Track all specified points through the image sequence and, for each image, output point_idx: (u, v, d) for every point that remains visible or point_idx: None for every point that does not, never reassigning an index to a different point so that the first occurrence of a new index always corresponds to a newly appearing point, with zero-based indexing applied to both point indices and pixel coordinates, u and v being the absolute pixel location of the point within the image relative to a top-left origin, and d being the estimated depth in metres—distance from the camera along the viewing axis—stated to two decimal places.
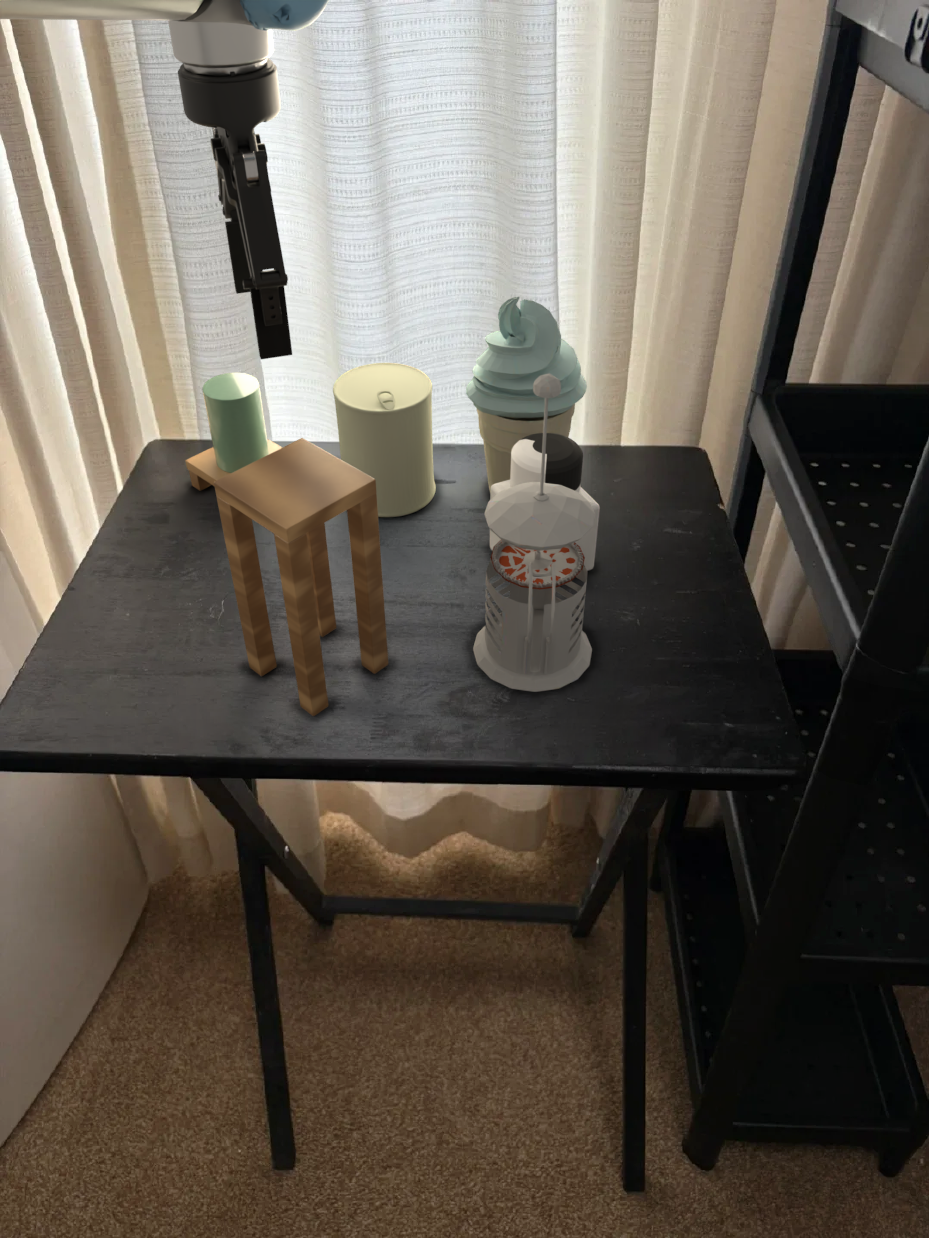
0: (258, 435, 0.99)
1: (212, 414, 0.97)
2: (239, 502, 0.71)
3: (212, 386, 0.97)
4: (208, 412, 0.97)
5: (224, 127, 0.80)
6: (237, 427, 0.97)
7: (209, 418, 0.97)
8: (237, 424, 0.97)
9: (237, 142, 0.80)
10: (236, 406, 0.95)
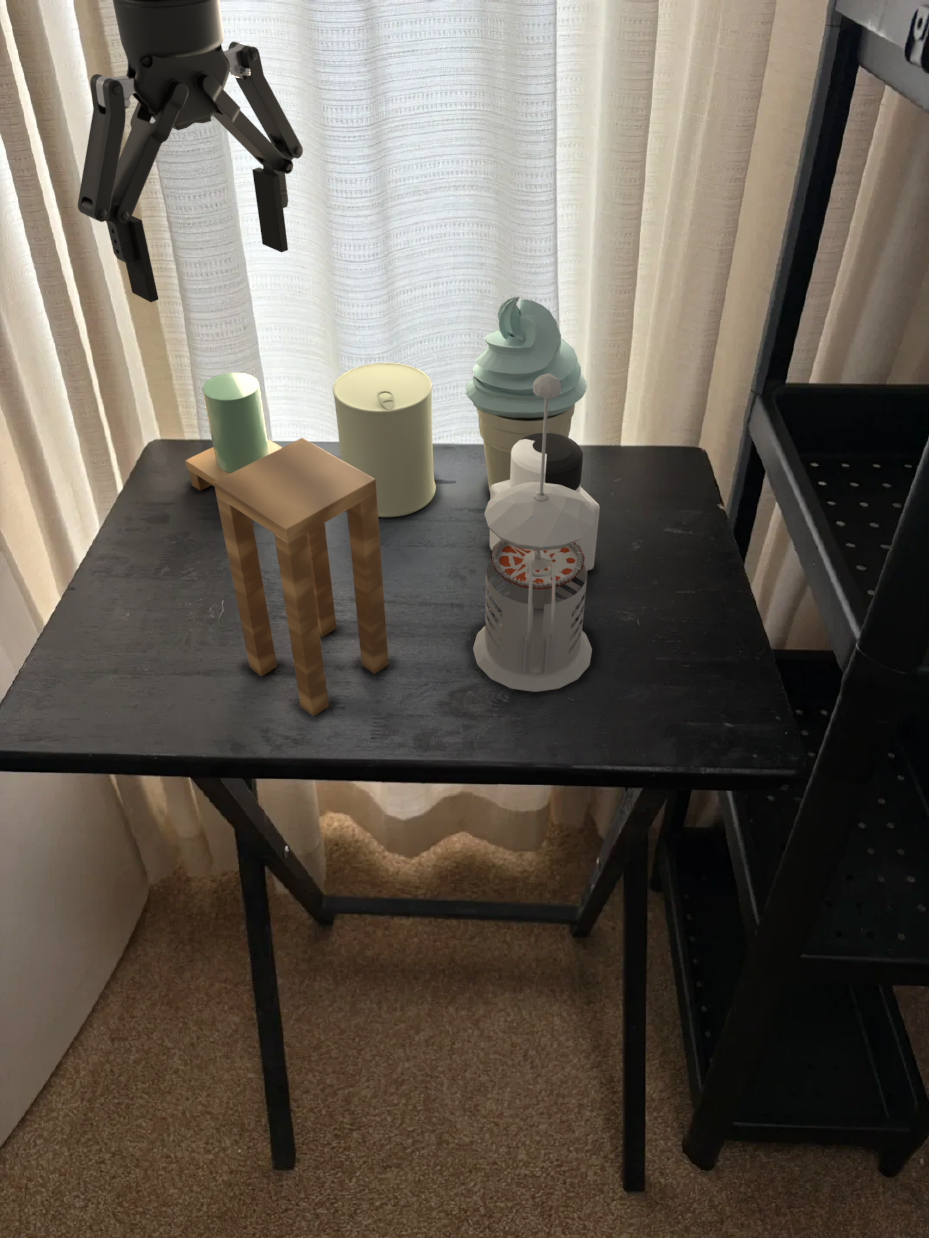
0: (258, 435, 0.99)
1: (212, 414, 0.97)
2: (239, 502, 0.71)
3: (212, 386, 0.97)
4: (208, 412, 0.97)
5: (124, 49, 0.77)
6: (237, 427, 0.97)
7: (209, 418, 0.97)
8: (237, 424, 0.97)
9: (131, 69, 0.77)
10: (236, 406, 0.95)
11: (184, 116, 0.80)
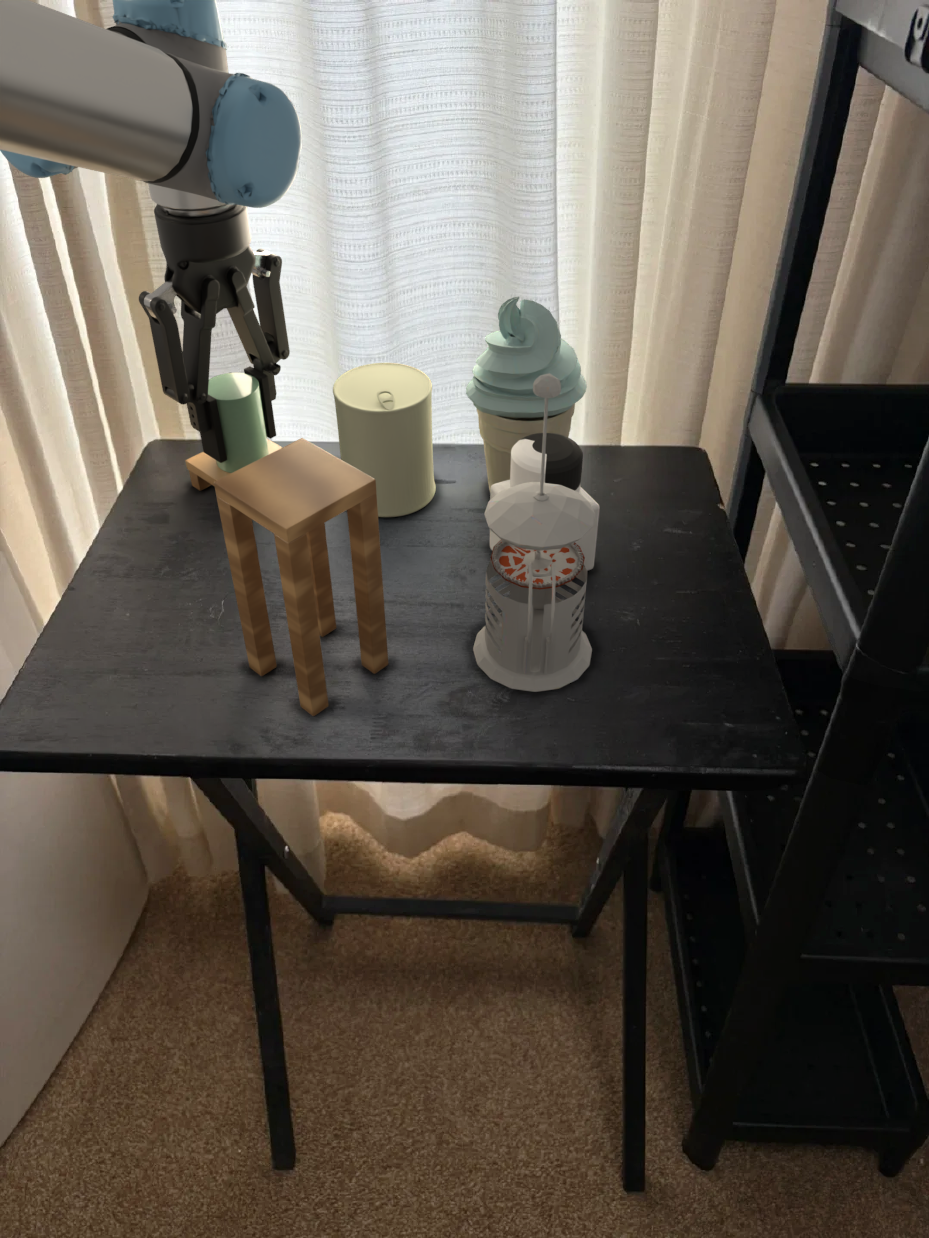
0: (258, 435, 0.99)
1: None
2: (239, 502, 0.71)
3: (212, 386, 0.97)
4: None
5: (163, 252, 0.87)
6: (237, 427, 0.97)
7: None
8: (237, 424, 0.97)
9: (169, 269, 0.87)
10: (236, 406, 0.95)
11: None
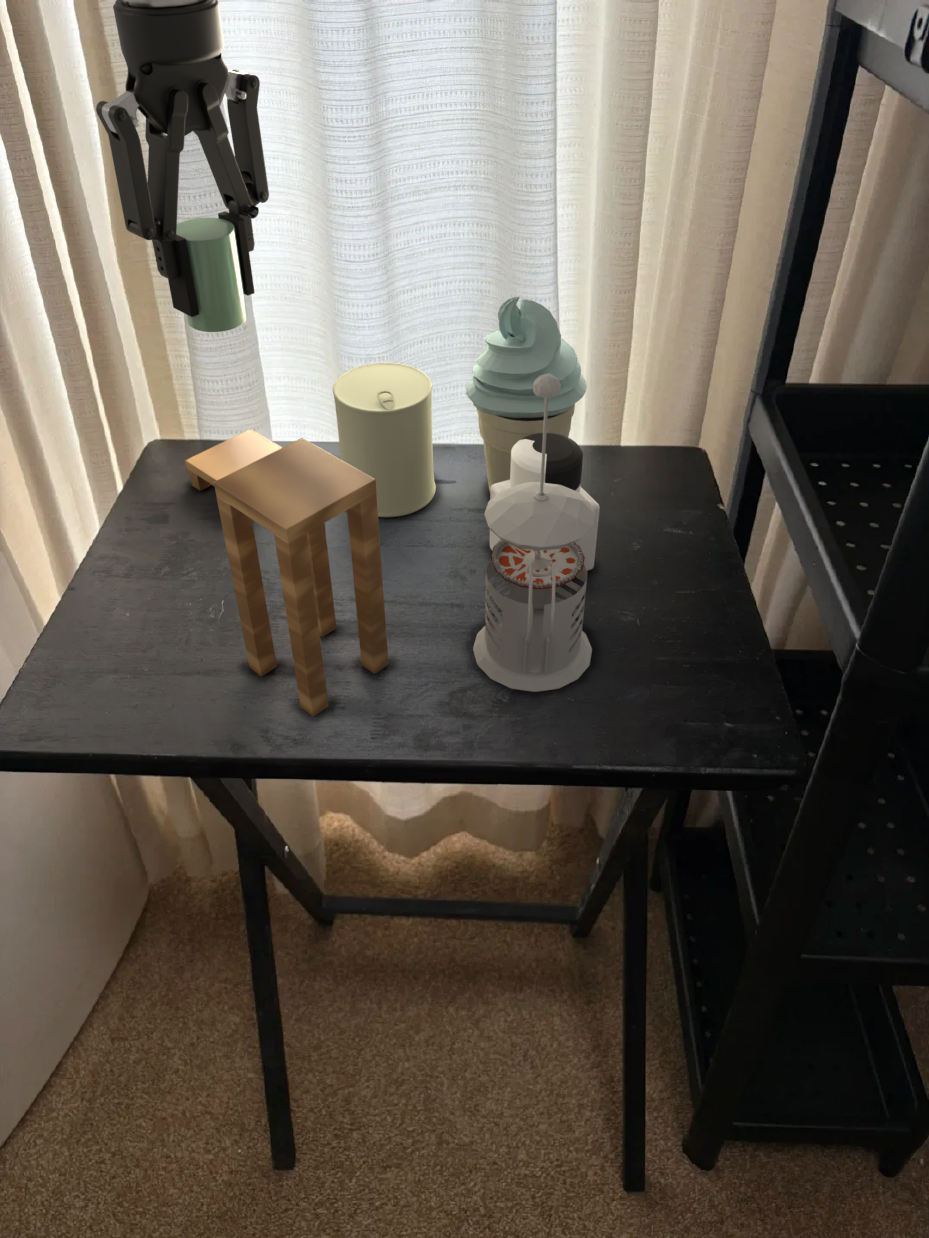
0: (234, 287, 0.89)
1: None
2: (239, 502, 0.71)
3: (182, 229, 0.87)
4: None
5: (124, 57, 0.77)
6: (210, 275, 0.87)
7: None
8: (210, 271, 0.87)
9: (131, 76, 0.77)
10: (208, 248, 0.86)
11: None
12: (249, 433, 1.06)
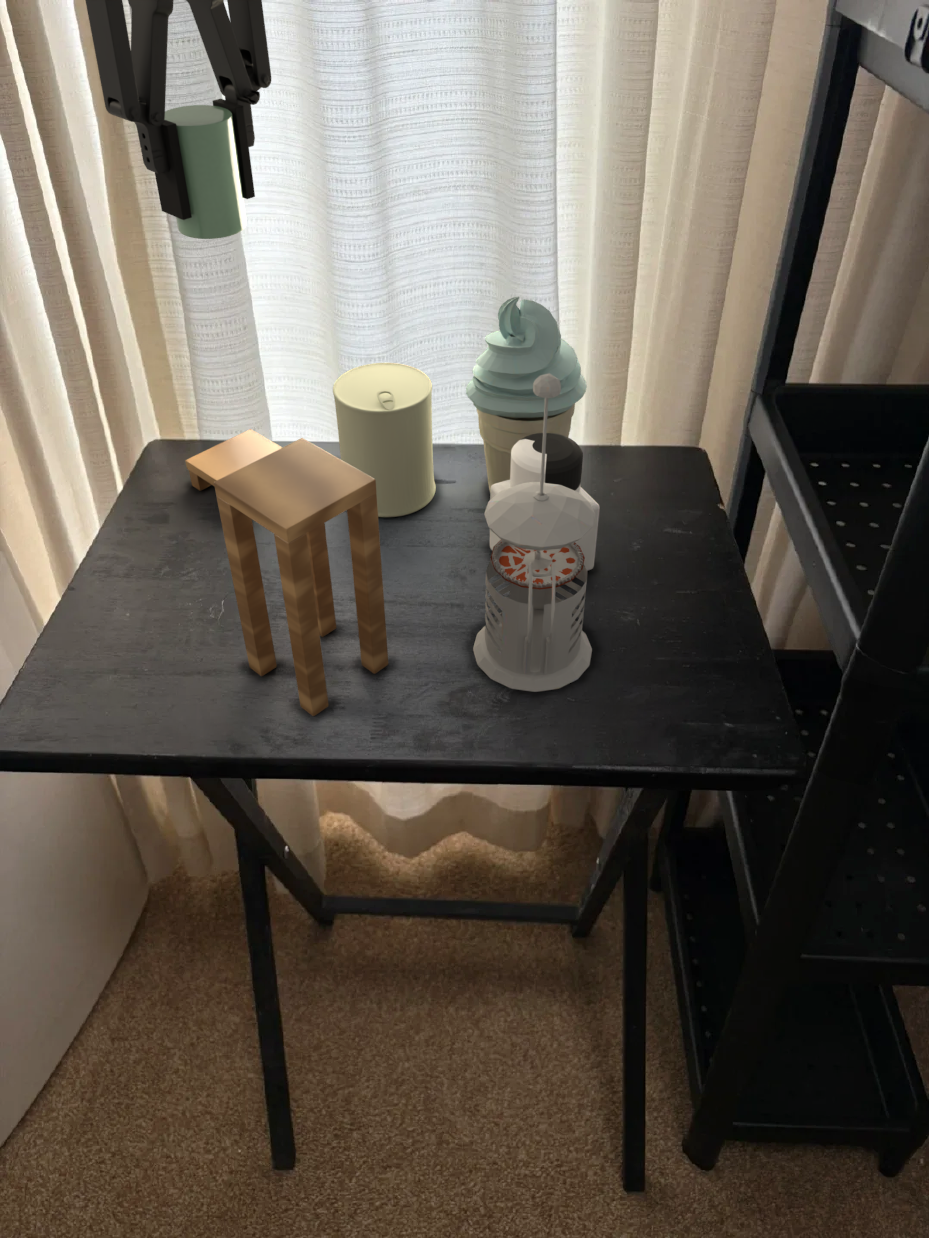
0: (232, 185, 0.77)
1: None
2: (239, 502, 0.71)
3: (172, 115, 0.75)
4: None
5: None
6: (204, 169, 0.75)
7: None
8: (204, 164, 0.75)
9: None
10: (202, 136, 0.74)
11: None
12: (249, 433, 1.06)
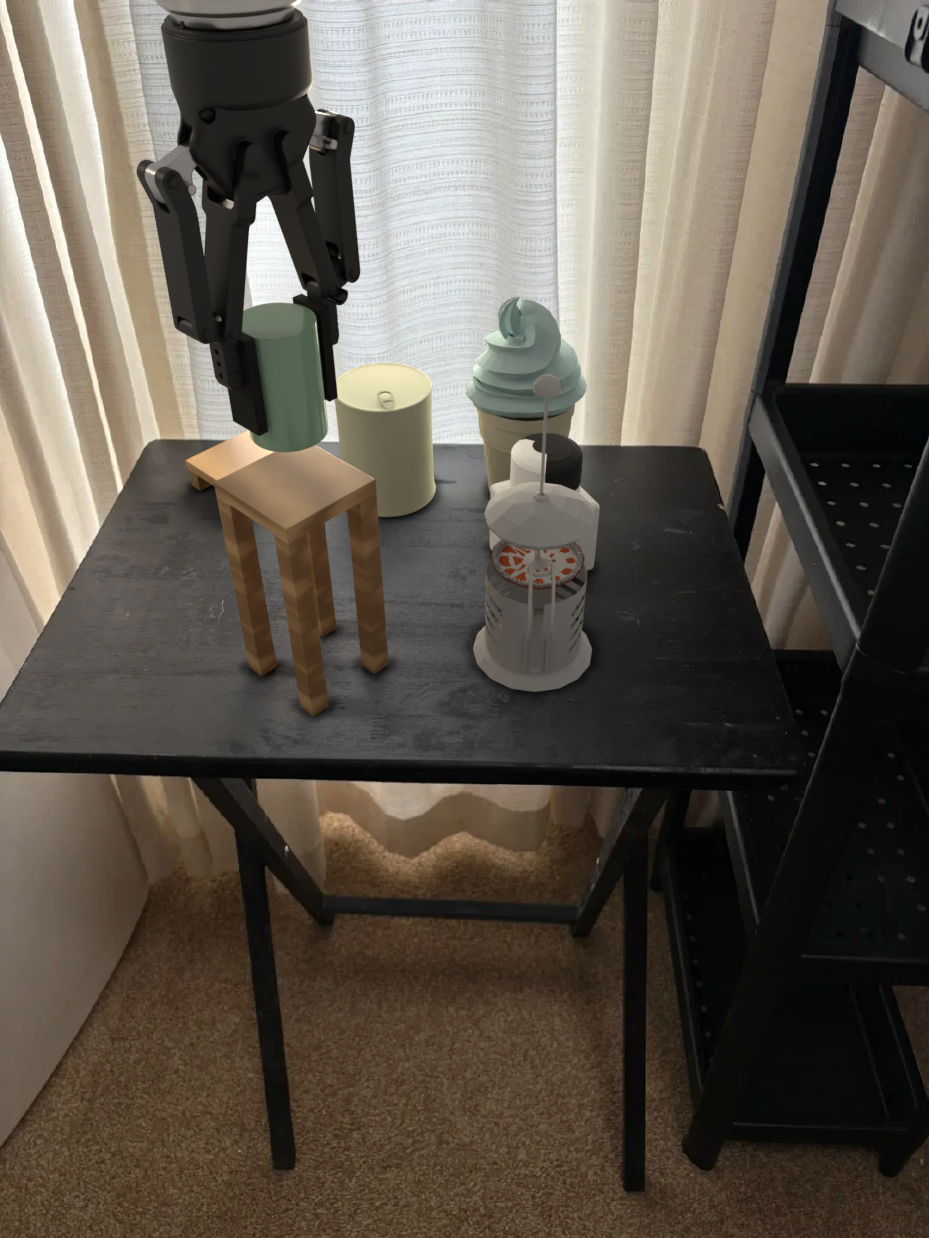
0: (314, 395, 0.67)
1: None
2: (239, 502, 0.71)
3: (247, 320, 0.65)
4: None
5: (175, 98, 0.55)
6: (284, 382, 0.65)
7: None
8: (285, 377, 0.65)
9: (185, 125, 0.55)
10: (284, 349, 0.64)
11: None
12: (249, 433, 1.06)
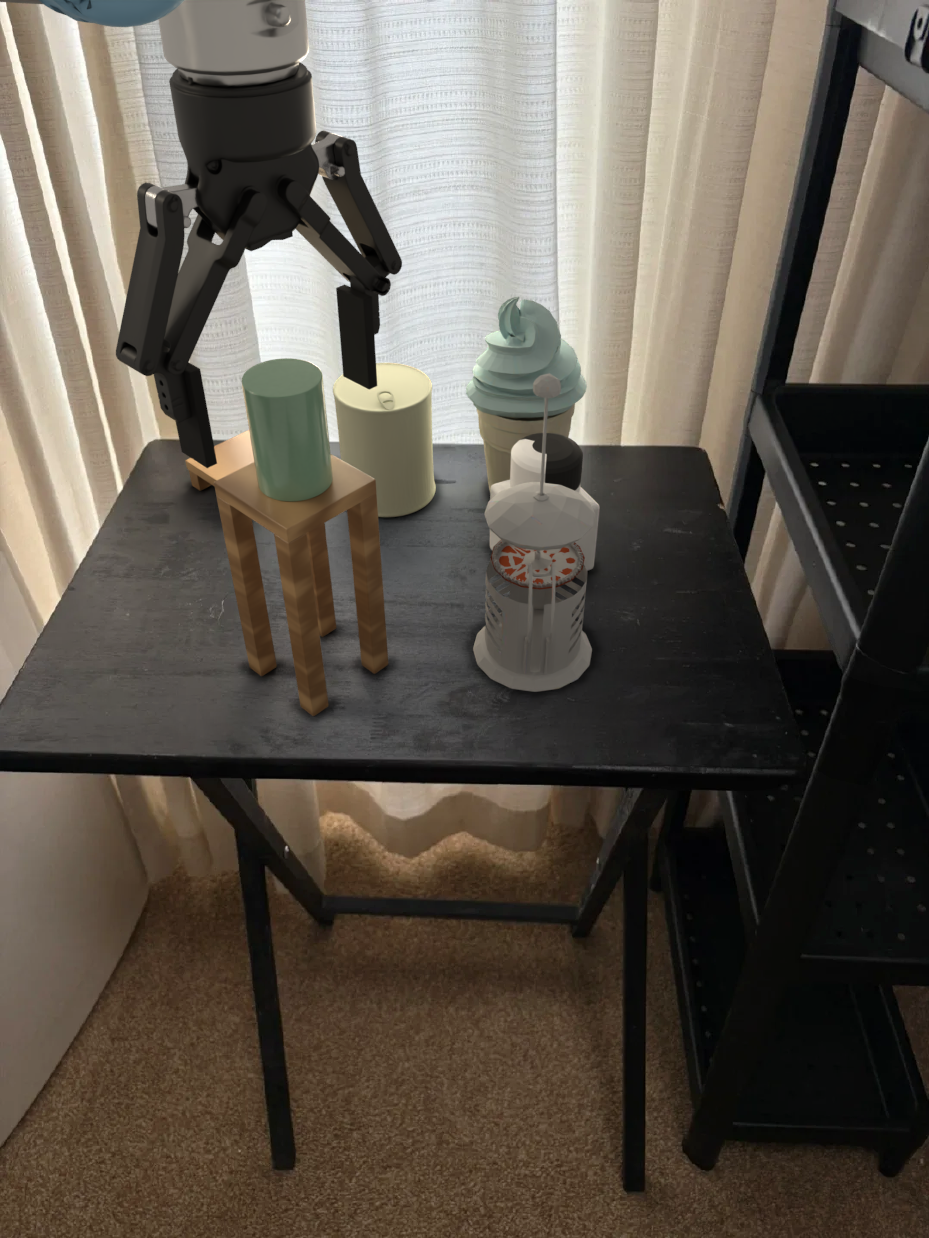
0: (320, 447, 0.69)
1: (256, 418, 0.67)
2: (239, 502, 0.71)
3: (256, 377, 0.67)
4: (249, 415, 0.68)
5: (183, 149, 0.56)
6: (291, 437, 0.68)
7: (251, 423, 0.68)
8: (292, 432, 0.67)
9: (192, 174, 0.57)
10: (291, 406, 0.66)
11: (259, 233, 0.60)
12: (249, 433, 1.06)
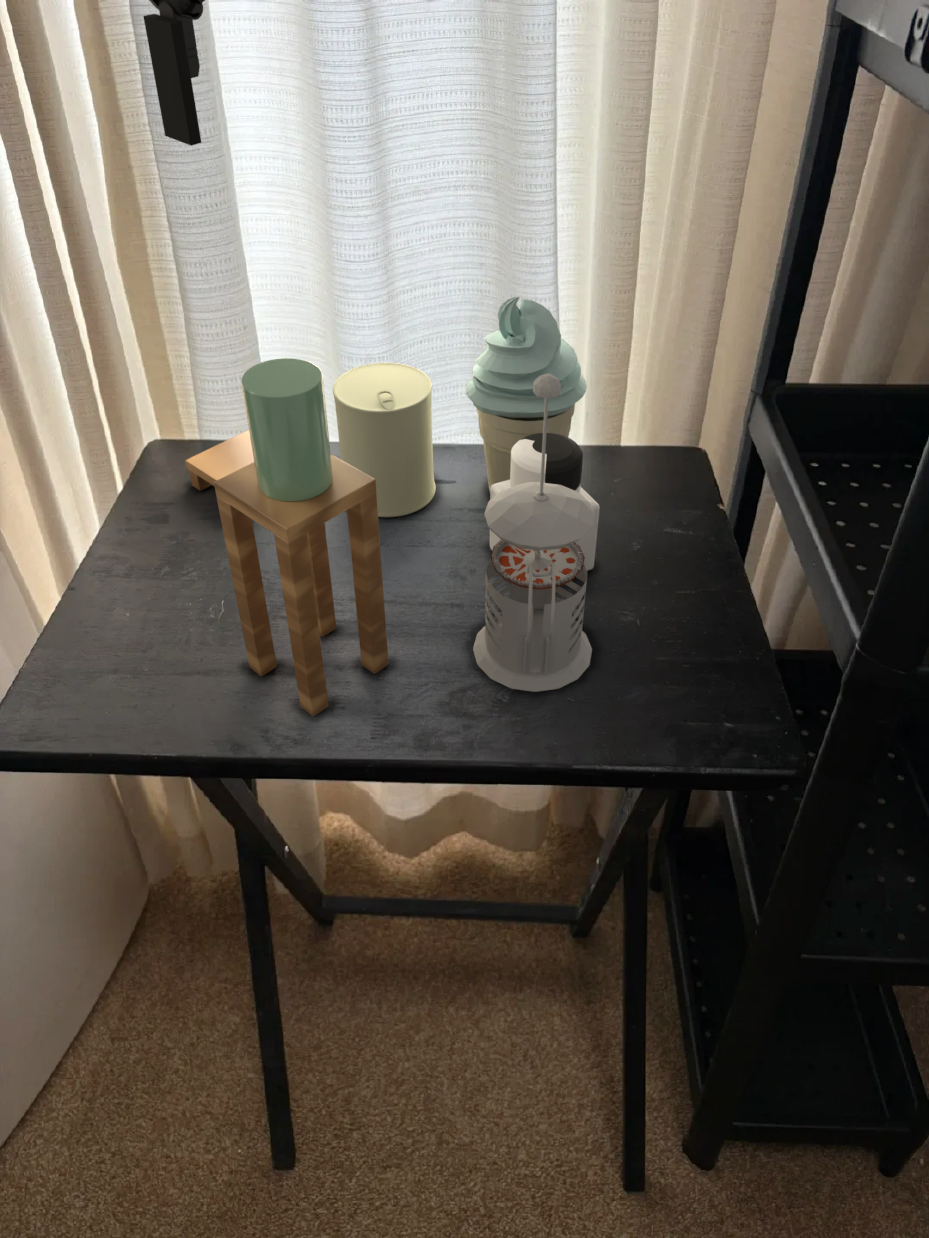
0: (320, 447, 0.69)
1: (256, 418, 0.67)
2: (239, 502, 0.71)
3: (256, 377, 0.67)
4: (249, 415, 0.68)
5: None
6: (291, 437, 0.68)
7: (251, 423, 0.68)
8: (292, 432, 0.67)
9: None
10: (291, 406, 0.66)
11: None
12: (249, 433, 1.06)
